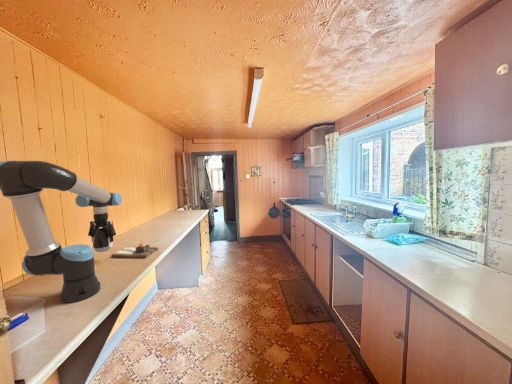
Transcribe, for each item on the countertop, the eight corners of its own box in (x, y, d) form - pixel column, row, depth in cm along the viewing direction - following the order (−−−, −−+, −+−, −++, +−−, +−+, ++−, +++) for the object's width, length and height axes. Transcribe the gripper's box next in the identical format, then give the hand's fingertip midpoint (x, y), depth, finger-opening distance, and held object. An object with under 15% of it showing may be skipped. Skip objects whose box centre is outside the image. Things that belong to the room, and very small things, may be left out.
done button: (143, 248, 148) (143, 244, 148) (138, 248, 149) (138, 244, 148) (147, 246, 152) (146, 242, 152) (141, 246, 153) (141, 242, 152)
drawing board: (145, 258, 142) (145, 250, 142) (111, 257, 144) (110, 250, 144) (158, 249, 158) (158, 242, 158) (127, 249, 160) (127, 242, 160)
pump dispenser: (116, 248, 141) (115, 226, 140) (103, 253, 130) (102, 230, 129) (102, 247, 142) (101, 226, 141) (89, 253, 132) (87, 229, 130)
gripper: (121, 212, 137) (123, 244, 139) (89, 212, 139) (91, 244, 141) (112, 214, 130) (114, 248, 131) (79, 214, 132) (81, 248, 133)
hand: (103, 246), depth 136 cm, fingers closed on pump dispenser, 10 cm apart
